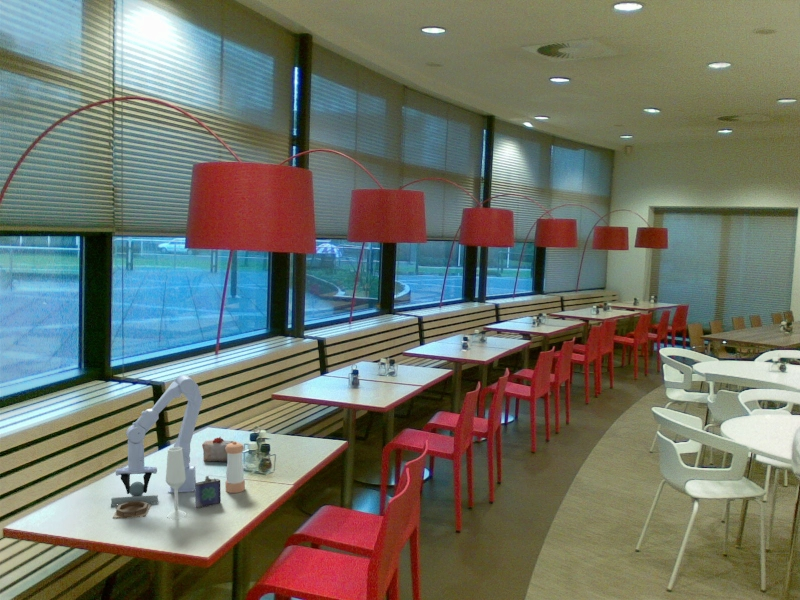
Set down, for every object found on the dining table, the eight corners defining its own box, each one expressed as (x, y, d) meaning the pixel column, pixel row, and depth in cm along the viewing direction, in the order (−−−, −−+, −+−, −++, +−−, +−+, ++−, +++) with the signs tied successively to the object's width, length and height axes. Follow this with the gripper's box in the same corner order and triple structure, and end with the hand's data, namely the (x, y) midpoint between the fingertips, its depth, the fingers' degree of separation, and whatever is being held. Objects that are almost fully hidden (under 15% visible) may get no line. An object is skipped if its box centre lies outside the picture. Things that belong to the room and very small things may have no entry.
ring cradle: (151, 504, 260) (150, 499, 259) (145, 516, 249) (145, 511, 249) (119, 506, 258) (119, 501, 257) (112, 518, 247) (112, 513, 247)
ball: (146, 493, 271) (145, 479, 270) (143, 498, 266) (143, 484, 265) (131, 493, 270) (130, 479, 269) (128, 499, 265) (127, 485, 264)
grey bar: (158, 500, 263) (158, 494, 263) (157, 503, 260) (156, 497, 260) (112, 503, 261) (112, 496, 260) (110, 506, 258) (110, 499, 257)
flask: (196, 508, 256) (195, 479, 255) (194, 506, 259) (193, 477, 258) (221, 503, 261) (221, 475, 260) (219, 501, 263) (218, 473, 262)
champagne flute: (163, 514, 251) (162, 448, 248) (182, 510, 255) (181, 444, 252) (170, 520, 245) (168, 453, 243) (189, 516, 250) (188, 449, 247)
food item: (200, 462, 307) (199, 440, 306) (206, 456, 315) (206, 434, 314) (231, 463, 306) (230, 441, 305) (236, 457, 314) (236, 435, 313)
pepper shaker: (248, 489, 275) (247, 441, 273) (232, 494, 270) (231, 445, 268) (237, 484, 280) (237, 437, 278) (221, 489, 275) (220, 441, 273)
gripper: (113, 461, 261) (114, 497, 262) (154, 459, 264) (155, 495, 265) (117, 455, 268) (118, 490, 269) (157, 453, 271) (158, 488, 272)
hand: (137, 492), depth 268 cm, fingers closed on ball, 5 cm apart
